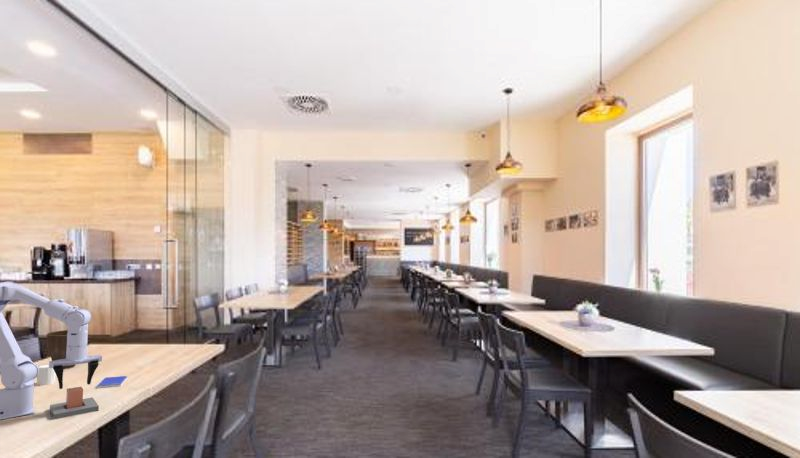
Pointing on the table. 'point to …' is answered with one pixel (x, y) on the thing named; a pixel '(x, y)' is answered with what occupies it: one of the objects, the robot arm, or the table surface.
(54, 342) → the plant pot
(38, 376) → the white tapered cup
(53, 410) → the socket plate
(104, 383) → the hard drive
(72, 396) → the reddish brown block
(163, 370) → the table surface
